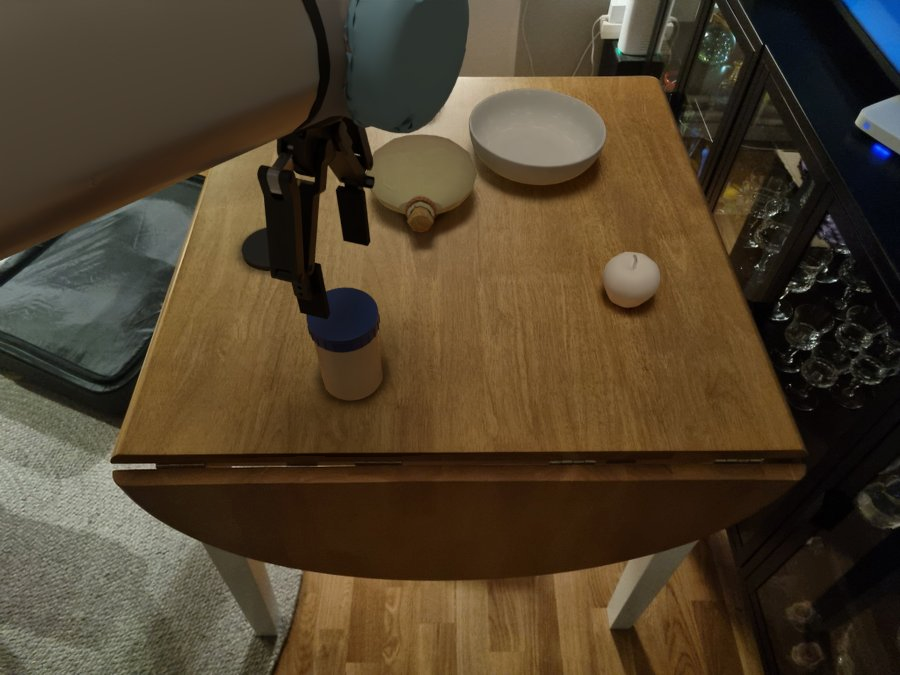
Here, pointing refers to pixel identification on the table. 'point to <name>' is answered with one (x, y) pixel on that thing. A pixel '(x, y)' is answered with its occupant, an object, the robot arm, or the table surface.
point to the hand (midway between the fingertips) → (337, 275)
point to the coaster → (257, 250)
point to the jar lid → (346, 321)
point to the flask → (422, 177)
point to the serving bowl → (536, 135)
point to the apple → (631, 279)
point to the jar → (351, 371)
